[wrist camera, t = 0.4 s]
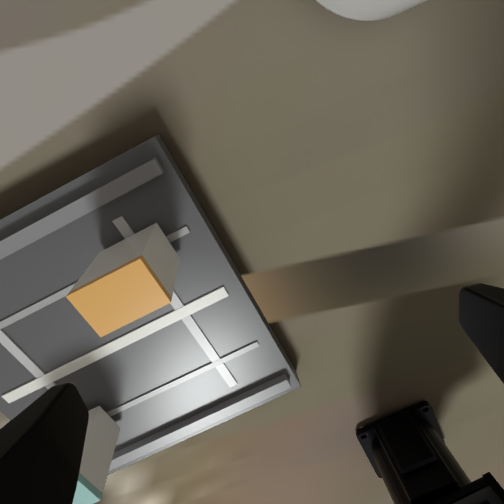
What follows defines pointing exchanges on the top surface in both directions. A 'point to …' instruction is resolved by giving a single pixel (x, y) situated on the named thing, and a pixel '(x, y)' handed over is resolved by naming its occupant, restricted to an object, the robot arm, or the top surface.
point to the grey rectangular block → (127, 281)
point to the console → (143, 329)
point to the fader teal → (96, 456)
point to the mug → (369, 8)
